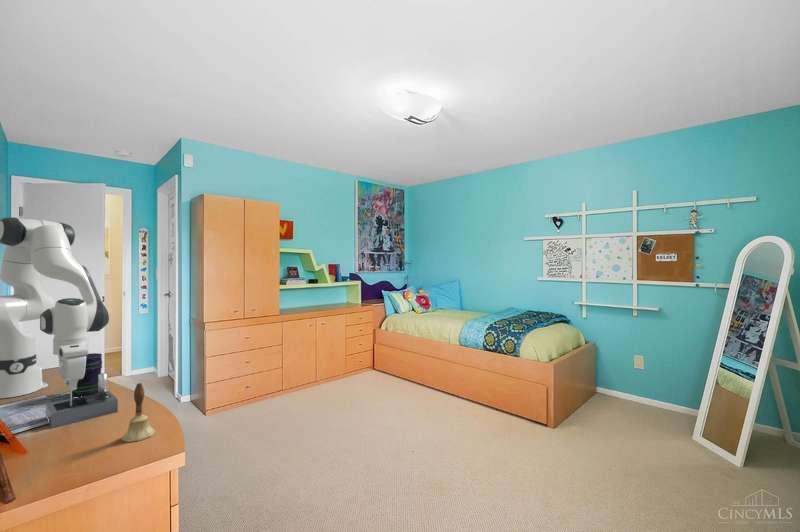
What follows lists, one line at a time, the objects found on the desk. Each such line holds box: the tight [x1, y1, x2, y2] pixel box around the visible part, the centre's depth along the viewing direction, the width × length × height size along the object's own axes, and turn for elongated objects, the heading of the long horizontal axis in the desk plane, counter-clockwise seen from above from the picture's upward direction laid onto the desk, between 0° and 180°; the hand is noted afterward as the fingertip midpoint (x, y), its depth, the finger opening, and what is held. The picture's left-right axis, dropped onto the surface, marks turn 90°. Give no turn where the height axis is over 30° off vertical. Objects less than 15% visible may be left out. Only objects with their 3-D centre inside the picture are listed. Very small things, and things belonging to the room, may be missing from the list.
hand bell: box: [121, 382, 156, 443], centre depth 112 cm, size 8×8×16 cm
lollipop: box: [58, 365, 73, 406], centre depth 124 cm, size 6×6×15 cm
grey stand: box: [45, 372, 119, 429], centre depth 126 cm, size 17×12×13 cm
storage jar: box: [72, 352, 103, 397], centre depth 145 cm, size 10×10×15 cm
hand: (70, 387), depth 124 cm, fingers closed on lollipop, 5 cm apart
